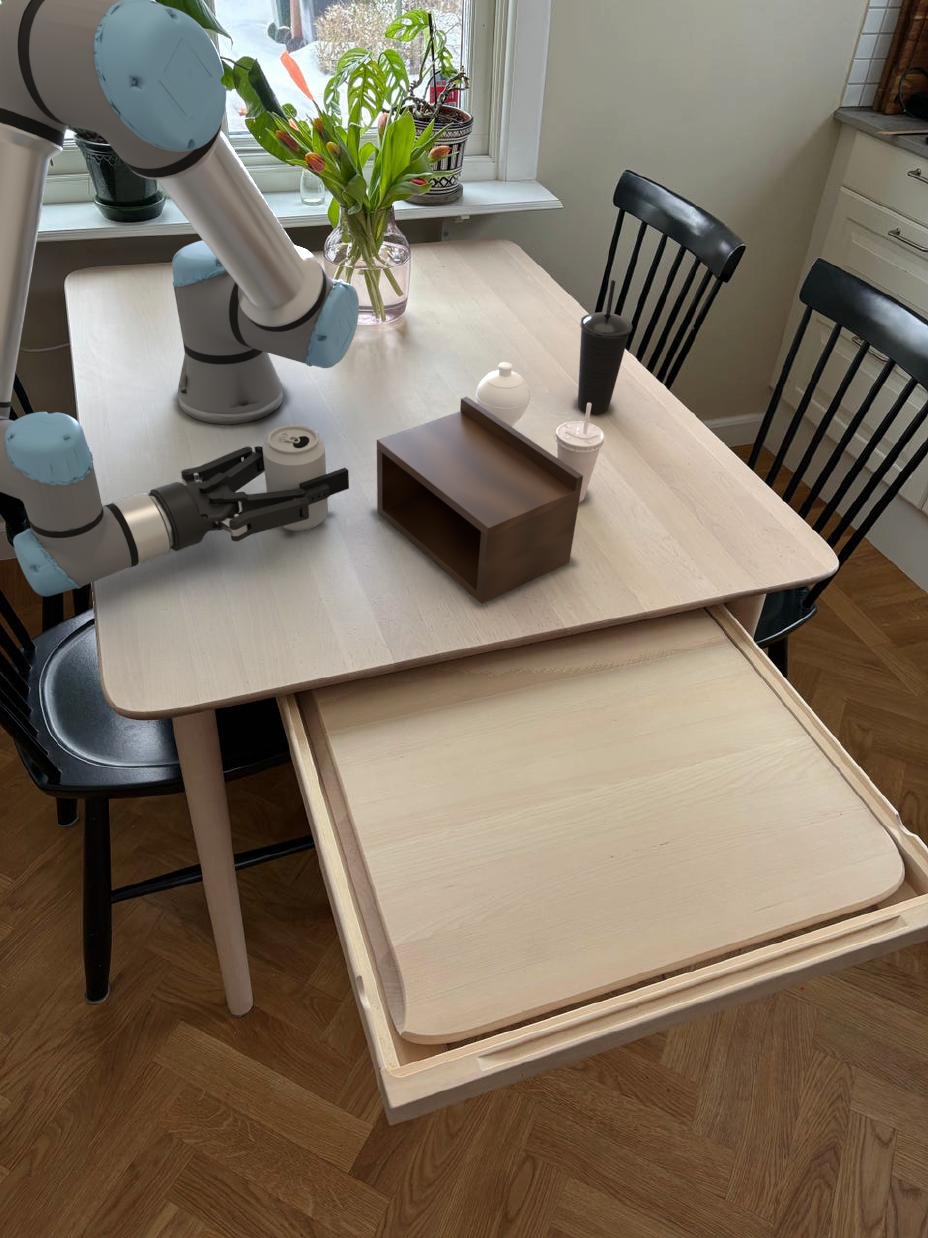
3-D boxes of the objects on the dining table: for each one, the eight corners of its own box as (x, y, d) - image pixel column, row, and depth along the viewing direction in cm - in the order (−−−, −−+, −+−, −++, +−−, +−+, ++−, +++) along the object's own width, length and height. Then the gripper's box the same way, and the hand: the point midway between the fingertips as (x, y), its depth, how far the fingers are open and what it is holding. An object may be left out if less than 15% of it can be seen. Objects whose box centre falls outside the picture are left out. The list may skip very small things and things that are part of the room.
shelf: (461, 479, 132) (466, 396, 124) (569, 562, 120) (583, 475, 111) (377, 512, 125) (376, 426, 117) (482, 603, 113) (489, 514, 104)
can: (317, 538, 121) (312, 456, 113) (261, 529, 122) (252, 447, 114) (335, 505, 126) (332, 425, 118) (281, 496, 127) (274, 416, 119)
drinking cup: (583, 423, 145) (603, 294, 132) (559, 399, 151) (576, 273, 137) (626, 414, 148) (650, 288, 135) (601, 391, 153) (622, 267, 140)
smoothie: (592, 511, 128) (608, 419, 119) (545, 504, 129) (557, 412, 120) (596, 485, 133) (611, 394, 124) (550, 479, 134) (562, 387, 124)
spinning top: (520, 457, 137) (528, 381, 129) (468, 449, 138) (473, 373, 130) (528, 431, 143) (537, 356, 135) (478, 423, 144) (483, 348, 136)
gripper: (129, 506, 119) (290, 452, 130) (204, 594, 108) (374, 526, 119) (117, 454, 114) (286, 402, 125) (195, 540, 103) (374, 475, 114)
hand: (329, 463), depth 122 cm, fingers closed on can, 7 cm apart
